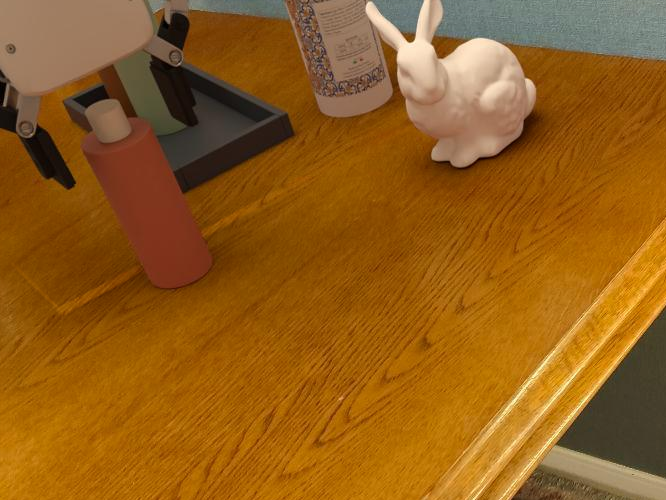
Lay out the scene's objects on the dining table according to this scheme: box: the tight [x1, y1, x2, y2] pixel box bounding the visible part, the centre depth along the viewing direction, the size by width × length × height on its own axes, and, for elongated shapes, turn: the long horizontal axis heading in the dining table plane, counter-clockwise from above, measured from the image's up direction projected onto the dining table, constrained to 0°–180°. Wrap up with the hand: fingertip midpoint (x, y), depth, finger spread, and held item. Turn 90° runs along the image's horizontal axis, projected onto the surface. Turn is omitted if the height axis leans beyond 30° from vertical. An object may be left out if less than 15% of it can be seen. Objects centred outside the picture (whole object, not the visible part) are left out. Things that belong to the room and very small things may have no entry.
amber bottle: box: [96, 64, 138, 118], centre depth 92 cm, size 5×5×13 cm
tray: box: [61, 60, 296, 194], centre depth 92 cm, size 12×24×3 cm, turn 42°
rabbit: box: [365, 0, 537, 168], centre depth 80 cm, size 12×9×12 cm
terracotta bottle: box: [80, 99, 213, 290], centre depth 73 cm, size 5×5×13 cm
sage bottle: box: [113, 0, 196, 136], centre depth 89 cm, size 5×5×13 cm
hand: (126, 151), depth 70 cm, fingers open, 9 cm apart
